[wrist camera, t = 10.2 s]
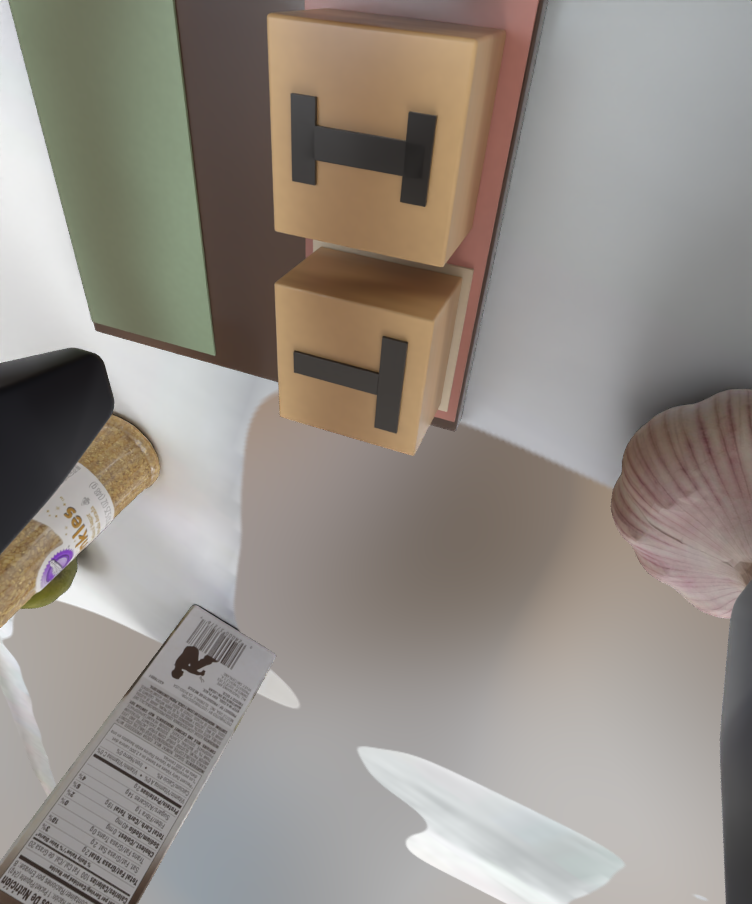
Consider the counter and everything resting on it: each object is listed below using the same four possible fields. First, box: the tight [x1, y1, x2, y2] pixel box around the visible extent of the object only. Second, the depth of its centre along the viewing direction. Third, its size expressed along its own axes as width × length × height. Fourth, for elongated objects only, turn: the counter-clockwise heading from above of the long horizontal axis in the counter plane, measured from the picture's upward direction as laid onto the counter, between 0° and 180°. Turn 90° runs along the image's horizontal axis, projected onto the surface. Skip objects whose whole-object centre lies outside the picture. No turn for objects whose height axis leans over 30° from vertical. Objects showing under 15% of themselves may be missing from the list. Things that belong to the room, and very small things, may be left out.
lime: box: [20, 557, 77, 609], centre depth 35 cm, size 4×5×5 cm
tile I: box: [267, 8, 506, 267], centre depth 14 cm, size 4×4×3 cm
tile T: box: [274, 247, 462, 456], centre depth 18 cm, size 4×4×3 cm
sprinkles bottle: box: [0, 415, 160, 628], centre depth 24 cm, size 5×5×13 cm
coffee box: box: [0, 605, 276, 904], centre depth 33 cm, size 9×6×16 cm
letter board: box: [8, 0, 548, 431], centre depth 15 cm, size 15×22×1 cm
